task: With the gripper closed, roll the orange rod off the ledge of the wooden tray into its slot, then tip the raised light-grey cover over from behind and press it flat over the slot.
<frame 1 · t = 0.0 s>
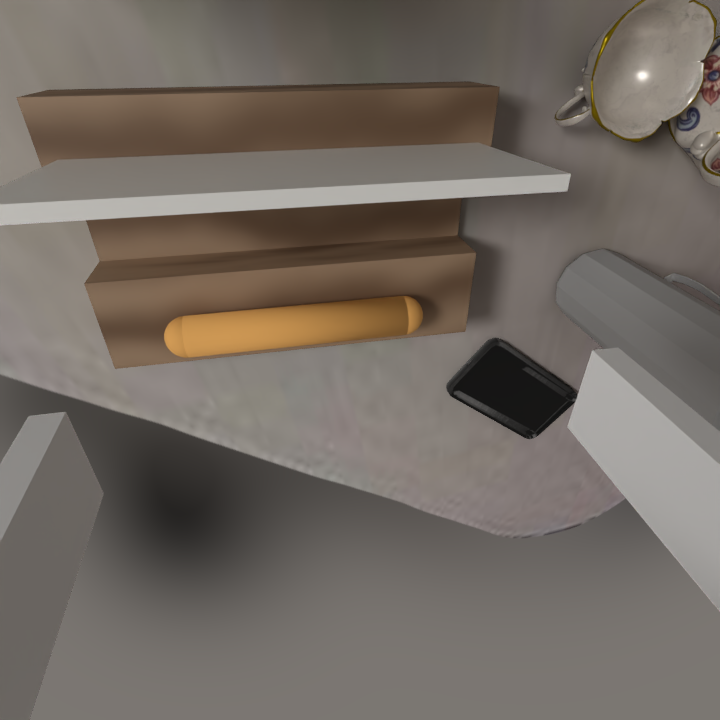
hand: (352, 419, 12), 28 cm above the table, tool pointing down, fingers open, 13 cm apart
phone: (510, 387, 52), on the table
wooden tray: (284, 198, 36), on the table
duct cover: (288, 174, 25), point 11 cm above the table, hinge at 92.0°
water bottle: (593, 275, 46), on the table
orange rod: (297, 316, 36), point 5 cm above the table, touching wooden tray
chinaware: (713, 53, 36), on the table
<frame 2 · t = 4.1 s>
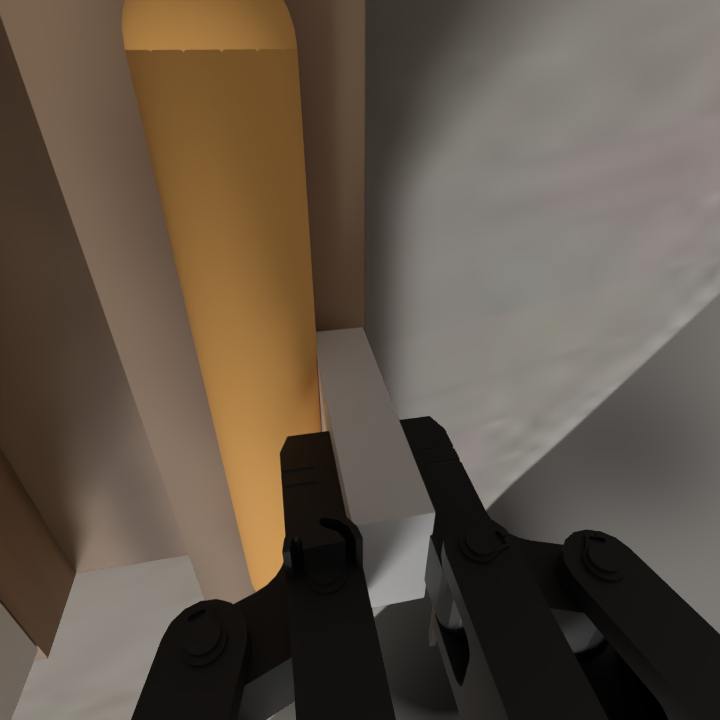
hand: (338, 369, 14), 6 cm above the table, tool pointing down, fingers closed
wooden tray: (55, 311, 17), on the table
orange rod: (267, 365, 14), point 5 cm above the table, touching wooden tray, gripper
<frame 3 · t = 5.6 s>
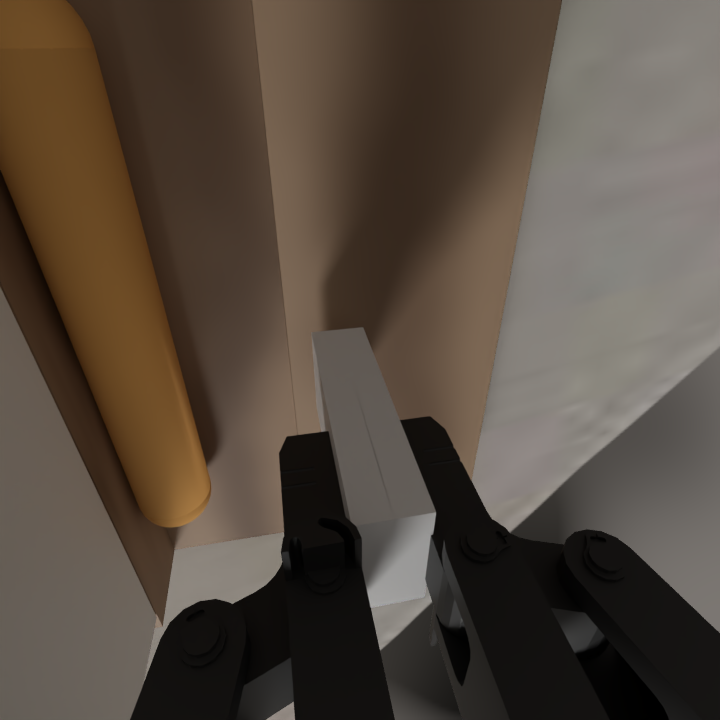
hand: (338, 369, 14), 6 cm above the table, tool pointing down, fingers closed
wooden tray: (190, 294, 18), on the table
orange rod: (143, 311, 17), point 1 cm above the table, tilted 18°, touching wooden tray
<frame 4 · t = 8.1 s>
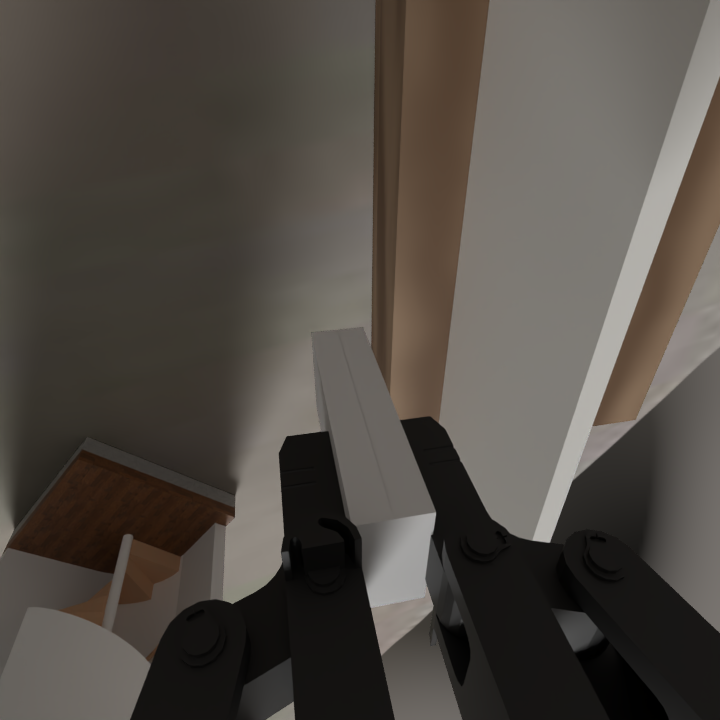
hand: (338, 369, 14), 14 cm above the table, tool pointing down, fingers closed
wooden tray: (497, 208, 28), on the table
duct cover: (517, 291, 18), point 11 cm above the table, hinge at 92.0°
wood-lined white cubby: (129, 510, 35), on the table
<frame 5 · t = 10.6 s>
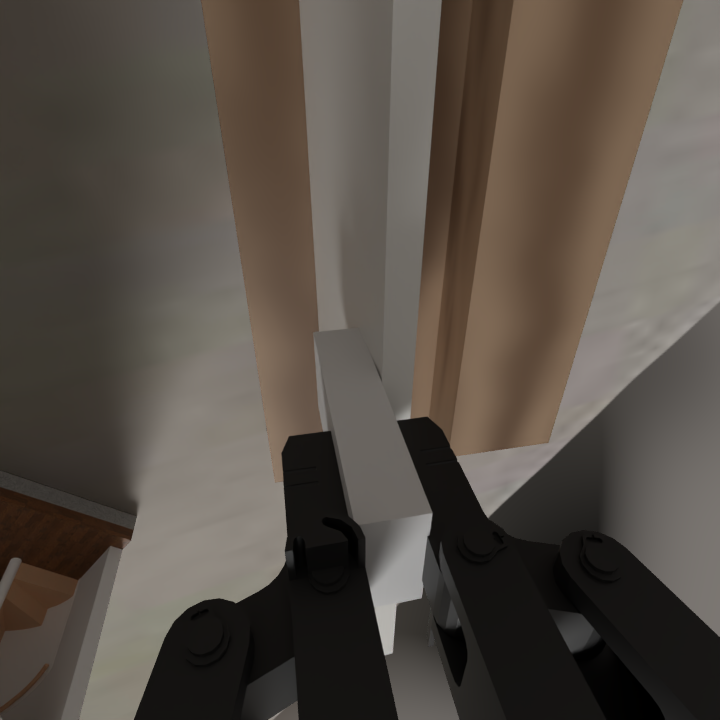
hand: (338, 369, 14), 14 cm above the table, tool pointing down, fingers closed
wooden tray: (382, 219, 26), on the table
duct cover: (350, 318, 17), point 11 cm above the table, hinge at 87.2°, touching gripper
wood-lined white cubby: (23, 531, 34), on the table
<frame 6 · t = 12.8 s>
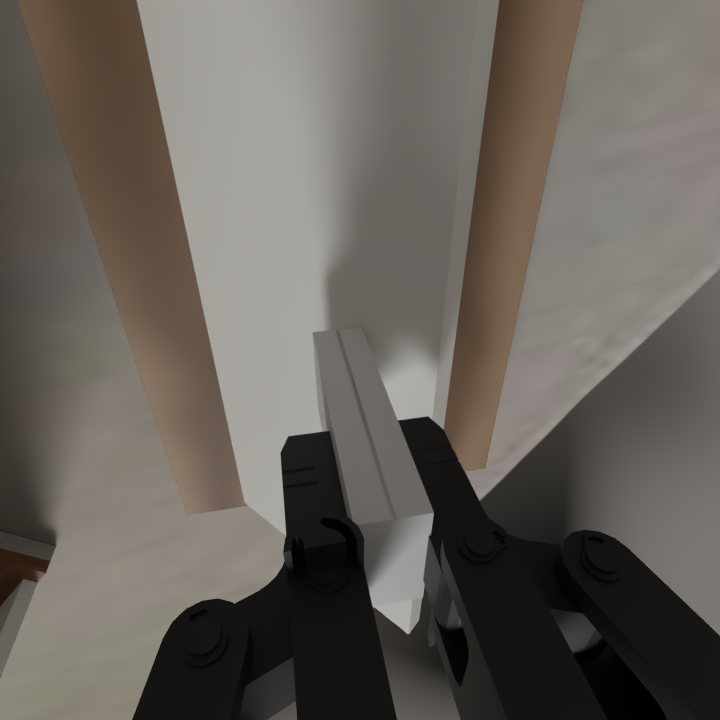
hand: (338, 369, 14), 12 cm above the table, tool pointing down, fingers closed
wooden tray: (291, 234, 24), on the table
duct cover: (303, 328, 16), point 10 cm above the table, hinge at 50.7°, touching gripper
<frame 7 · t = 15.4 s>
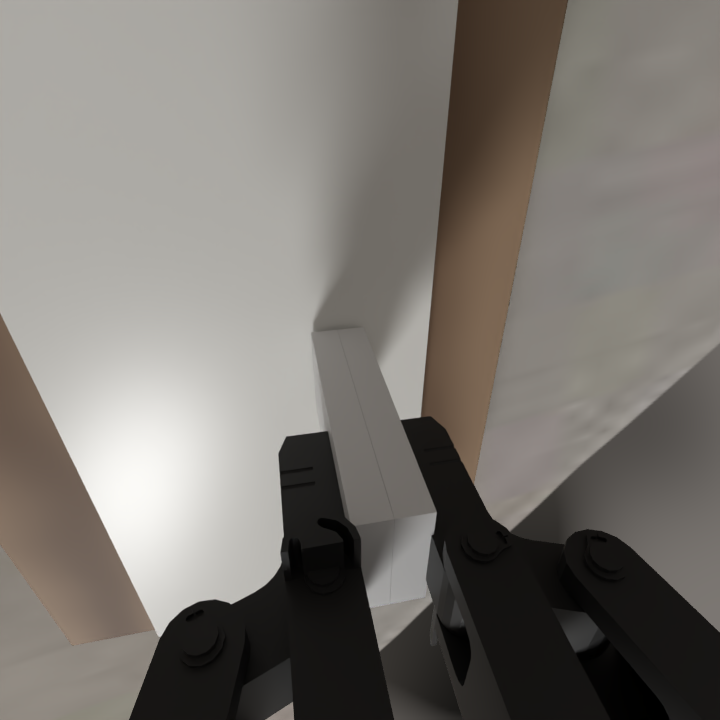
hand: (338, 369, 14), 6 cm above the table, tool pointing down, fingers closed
wooden tray: (194, 295, 18), on the table
duct cover: (247, 368, 14), point 5 cm above the table, hinge at -0.3°, touching gripper
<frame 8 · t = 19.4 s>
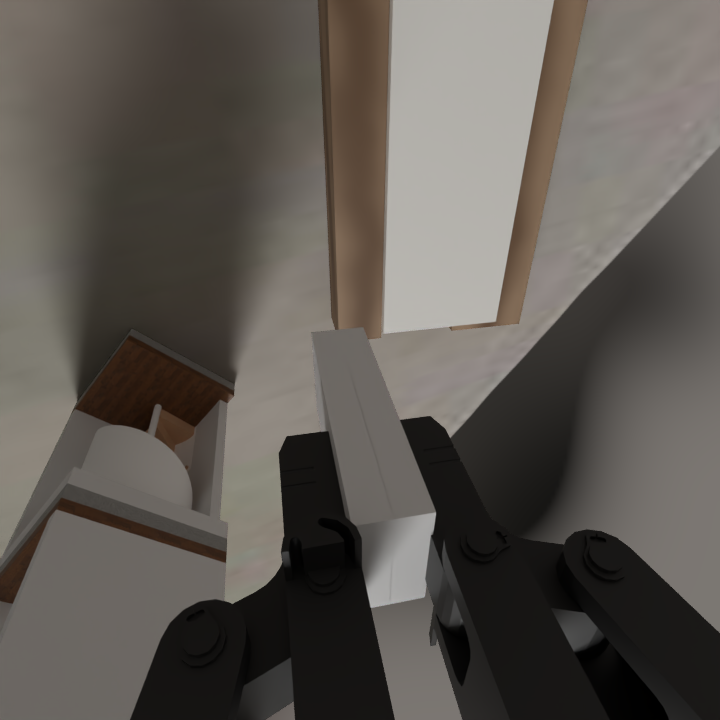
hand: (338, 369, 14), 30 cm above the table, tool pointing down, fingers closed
wooden tray: (410, 167, 41), on the table
duct cover: (454, 181, 37), point 5 cm above the table, hinge at -0.4°
wood-lined white cubby: (158, 391, 49), on the table
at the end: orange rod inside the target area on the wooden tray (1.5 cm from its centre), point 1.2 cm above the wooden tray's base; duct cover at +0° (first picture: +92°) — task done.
